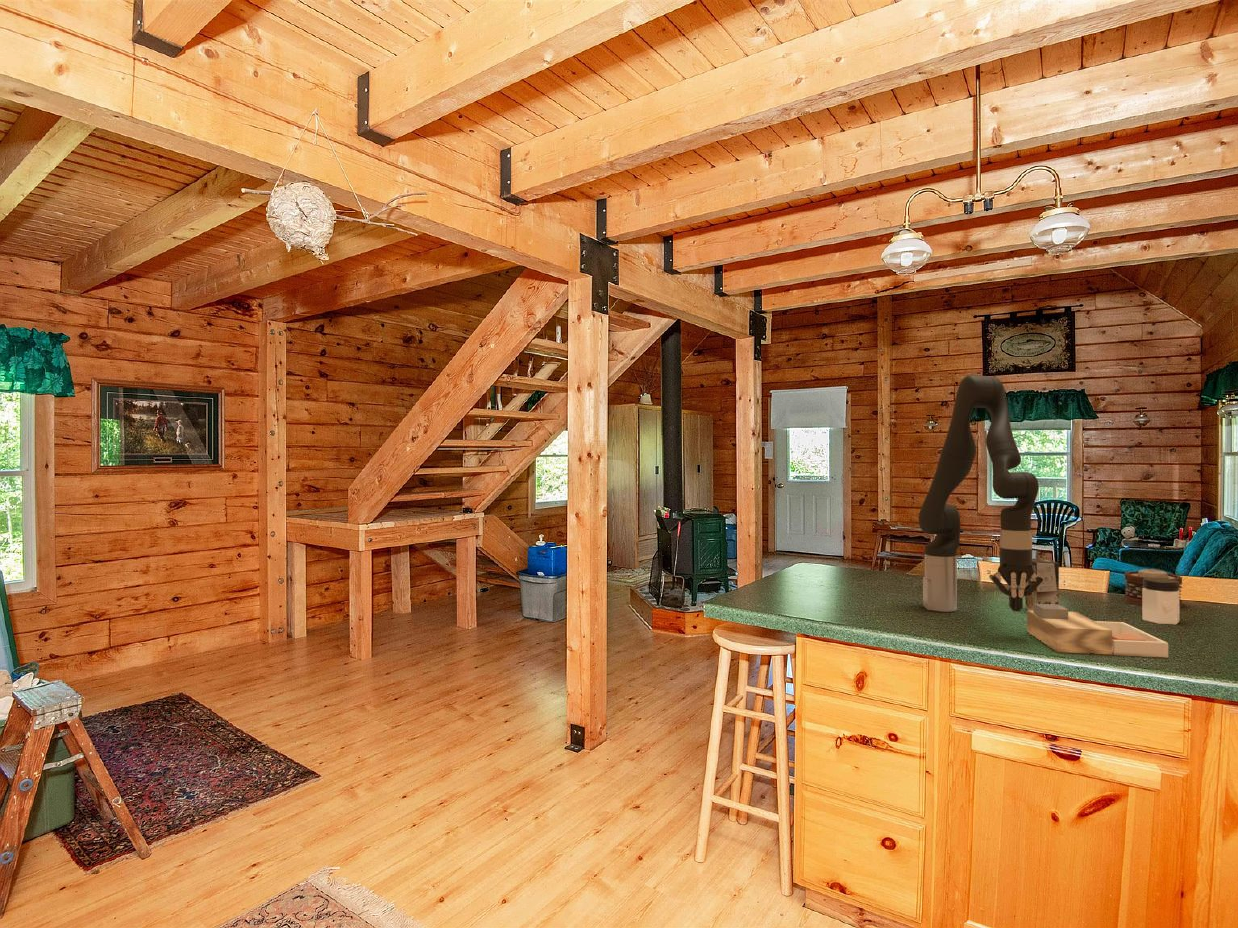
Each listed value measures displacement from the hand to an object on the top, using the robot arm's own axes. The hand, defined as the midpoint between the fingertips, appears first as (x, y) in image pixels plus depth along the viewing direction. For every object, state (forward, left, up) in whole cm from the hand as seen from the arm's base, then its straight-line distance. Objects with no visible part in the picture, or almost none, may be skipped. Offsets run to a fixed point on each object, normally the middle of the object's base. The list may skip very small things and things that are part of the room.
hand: (1015, 610), depth 179 cm
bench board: (+11, -3, -7) cm, 13 cm away
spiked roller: (+57, +49, -7) cm, 76 cm away
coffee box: (+18, +31, -7) cm, 37 cm away
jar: (+47, +25, -7) cm, 54 cm away
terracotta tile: (+23, -6, -4) cm, 24 cm away
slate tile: (+8, 0, -1) cm, 8 cm away
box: (+23, -3, -7) cm, 24 cm away
